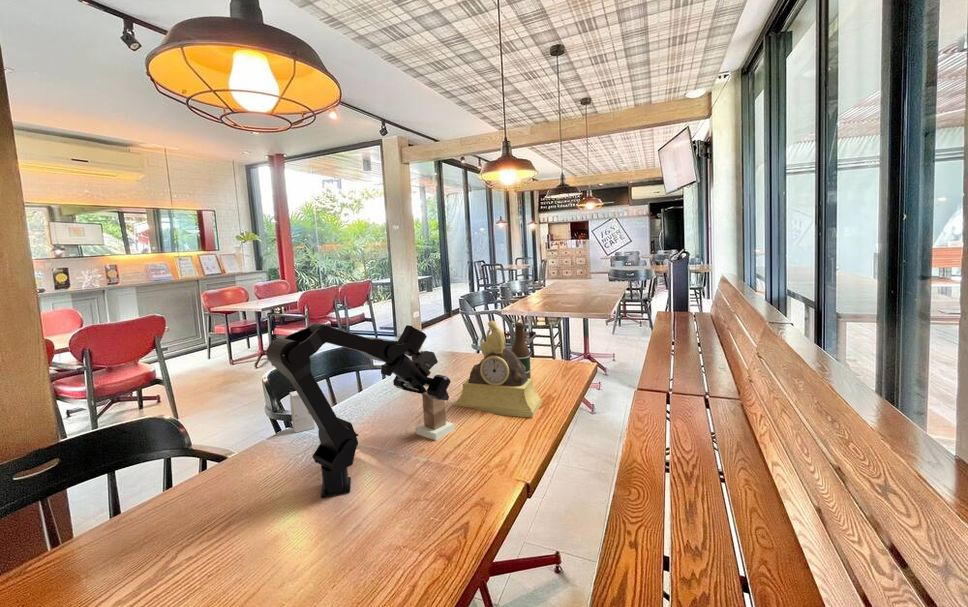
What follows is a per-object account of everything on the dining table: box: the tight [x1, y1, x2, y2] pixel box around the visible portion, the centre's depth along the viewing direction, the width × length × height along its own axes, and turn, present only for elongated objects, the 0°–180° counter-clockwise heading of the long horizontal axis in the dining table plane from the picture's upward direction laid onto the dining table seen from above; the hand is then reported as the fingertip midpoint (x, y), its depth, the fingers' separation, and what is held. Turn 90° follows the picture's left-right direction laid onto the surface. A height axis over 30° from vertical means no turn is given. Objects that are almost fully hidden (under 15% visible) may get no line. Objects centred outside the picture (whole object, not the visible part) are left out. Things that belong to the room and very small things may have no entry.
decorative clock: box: [452, 320, 543, 419], centre depth 146 cm, size 28×13×30 cm, turn 70°
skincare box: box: [289, 390, 315, 433], centre depth 135 cm, size 6×4×12 cm
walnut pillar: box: [421, 392, 447, 430], centre depth 125 cm, size 4×4×10 cm
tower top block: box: [415, 421, 455, 441], centre depth 126 cm, size 8×8×2 cm
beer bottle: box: [510, 322, 532, 379], centre depth 171 cm, size 8×8×24 cm
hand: (436, 396), depth 126 cm, fingers open, 9 cm apart
